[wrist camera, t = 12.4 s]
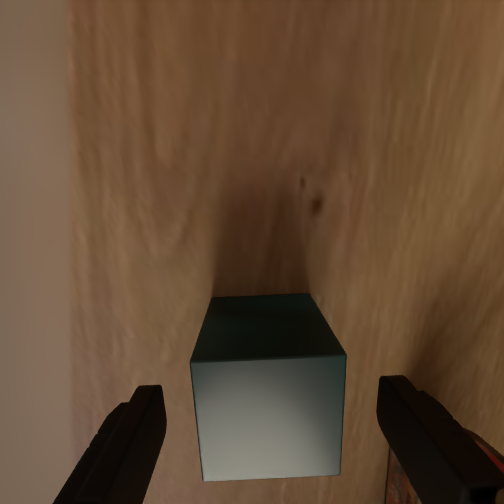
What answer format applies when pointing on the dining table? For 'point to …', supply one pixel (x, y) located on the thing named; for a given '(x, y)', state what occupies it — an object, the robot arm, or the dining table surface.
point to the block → (268, 389)
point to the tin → (399, 487)
